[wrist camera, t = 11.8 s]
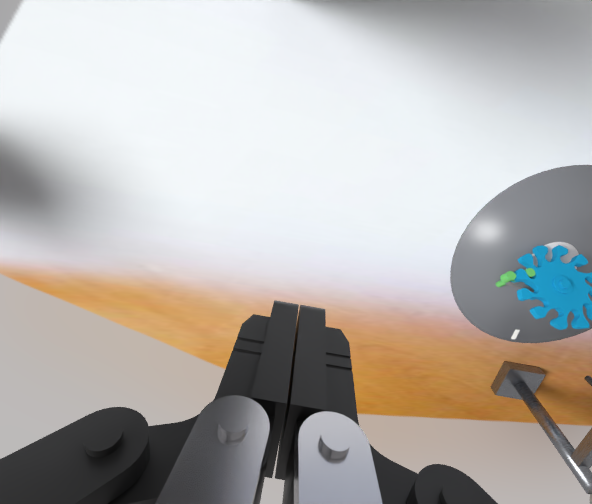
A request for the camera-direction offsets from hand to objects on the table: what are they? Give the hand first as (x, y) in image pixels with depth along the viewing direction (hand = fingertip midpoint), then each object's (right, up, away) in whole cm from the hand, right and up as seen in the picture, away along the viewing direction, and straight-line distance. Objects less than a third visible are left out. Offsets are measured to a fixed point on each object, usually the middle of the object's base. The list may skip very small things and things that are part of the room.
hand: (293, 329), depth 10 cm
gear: (+30, 0, +32) cm, 44 cm away
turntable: (+32, +1, +32) cm, 45 cm away
